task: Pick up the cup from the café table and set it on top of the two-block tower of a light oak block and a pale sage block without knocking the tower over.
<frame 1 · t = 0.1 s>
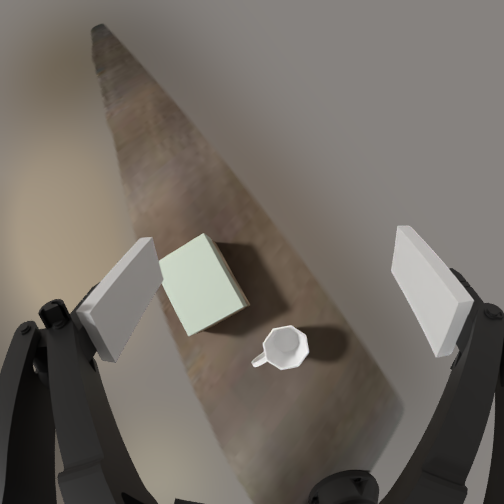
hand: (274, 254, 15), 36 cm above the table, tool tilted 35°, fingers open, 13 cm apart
top block: (202, 285, 48), point 3 cm above the table, touching bottom block
cup: (279, 343, 49), on the table
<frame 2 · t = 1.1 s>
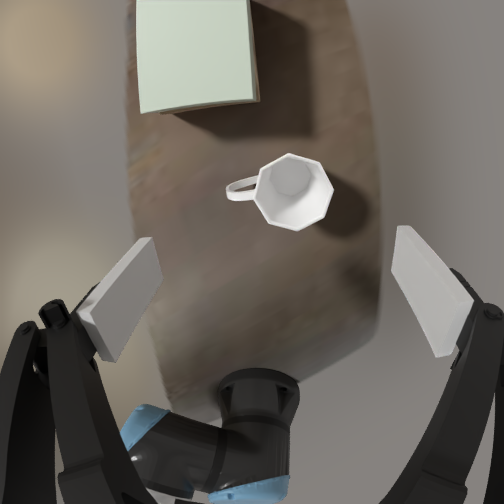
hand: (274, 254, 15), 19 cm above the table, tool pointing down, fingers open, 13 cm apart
bottom block: (210, 53, 26), on the table, touching top block
top block: (201, 45, 22), point 3 cm above the table, touching bottom block
cup: (276, 175, 31), on the table
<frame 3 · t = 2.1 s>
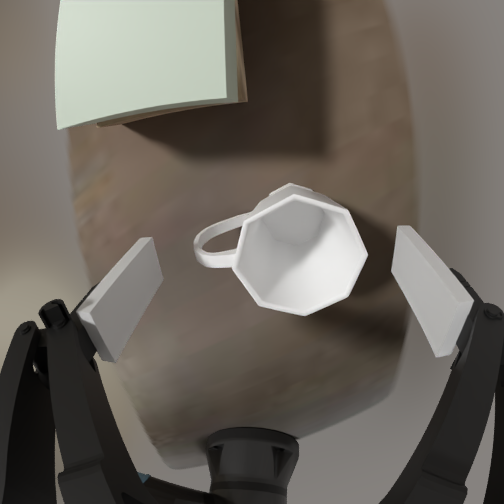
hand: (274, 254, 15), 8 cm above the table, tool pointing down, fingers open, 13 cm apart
bottom block: (174, 34, 16), on the table, touching top block
top block: (156, 19, 12), point 3 cm above the table, touching bottom block
cup: (273, 212, 22), on the table
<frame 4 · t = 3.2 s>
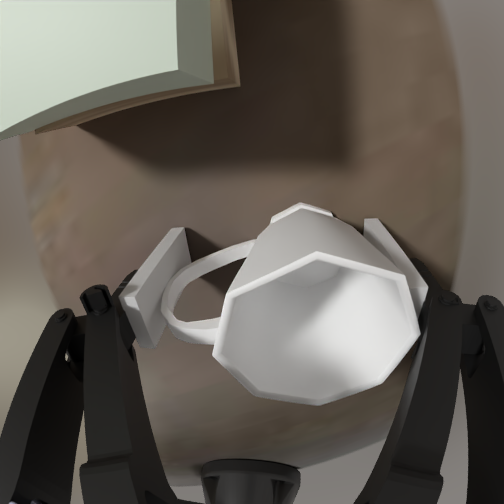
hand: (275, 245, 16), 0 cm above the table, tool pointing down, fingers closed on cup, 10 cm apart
bottom block: (141, 4, 10), on the table
cup: (276, 241, 16), on the table, touching gripper
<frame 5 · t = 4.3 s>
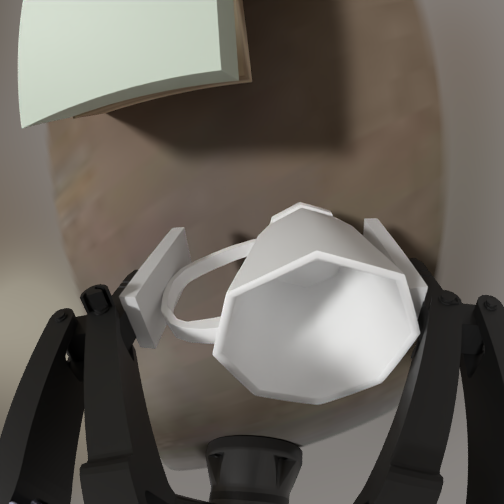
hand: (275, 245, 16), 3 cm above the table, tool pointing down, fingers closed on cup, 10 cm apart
bottom block: (164, 9, 12), on the table, touching top block
cup: (276, 241, 16), point 3 cm above the table, touching gripper
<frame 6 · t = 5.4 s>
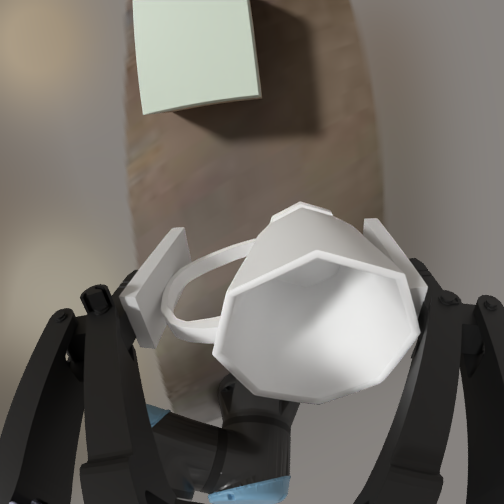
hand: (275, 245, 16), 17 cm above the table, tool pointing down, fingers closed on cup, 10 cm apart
top block: (201, 43, 21), point 4 cm above the table, touching bottom block
cup: (276, 240, 16), point 17 cm above the table, touching gripper
when the fingers open (10 cm above the table, at t = 9.0 s): cup drops 2 cm, resting on top block.
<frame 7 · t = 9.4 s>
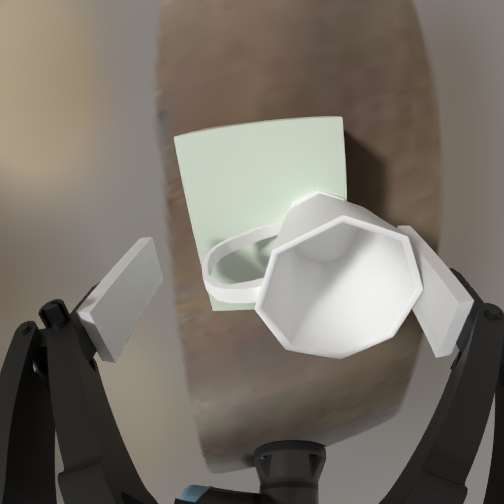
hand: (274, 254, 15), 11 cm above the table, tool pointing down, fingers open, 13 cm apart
top block: (270, 206, 22), point 3 cm above the table, touching bottom block, cup
cup: (296, 223, 18), point 7 cm above the table, touching top block
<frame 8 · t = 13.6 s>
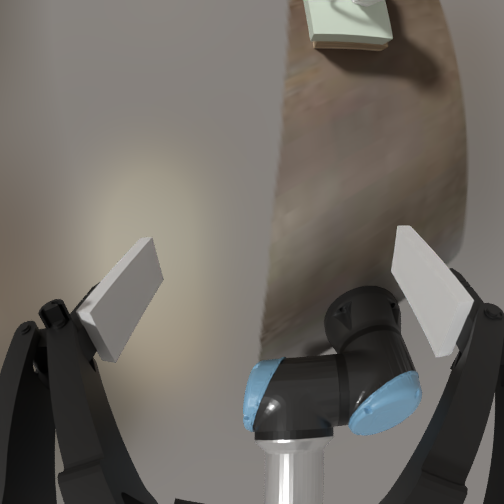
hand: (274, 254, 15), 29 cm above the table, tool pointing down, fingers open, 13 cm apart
bottom block: (340, 12, 28), on the table, touching top block
top block: (340, 2, 25), point 3 cm above the table, touching bottom block, cup
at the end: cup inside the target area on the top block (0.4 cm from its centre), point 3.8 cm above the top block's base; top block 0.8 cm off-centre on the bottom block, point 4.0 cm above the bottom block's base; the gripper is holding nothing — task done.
